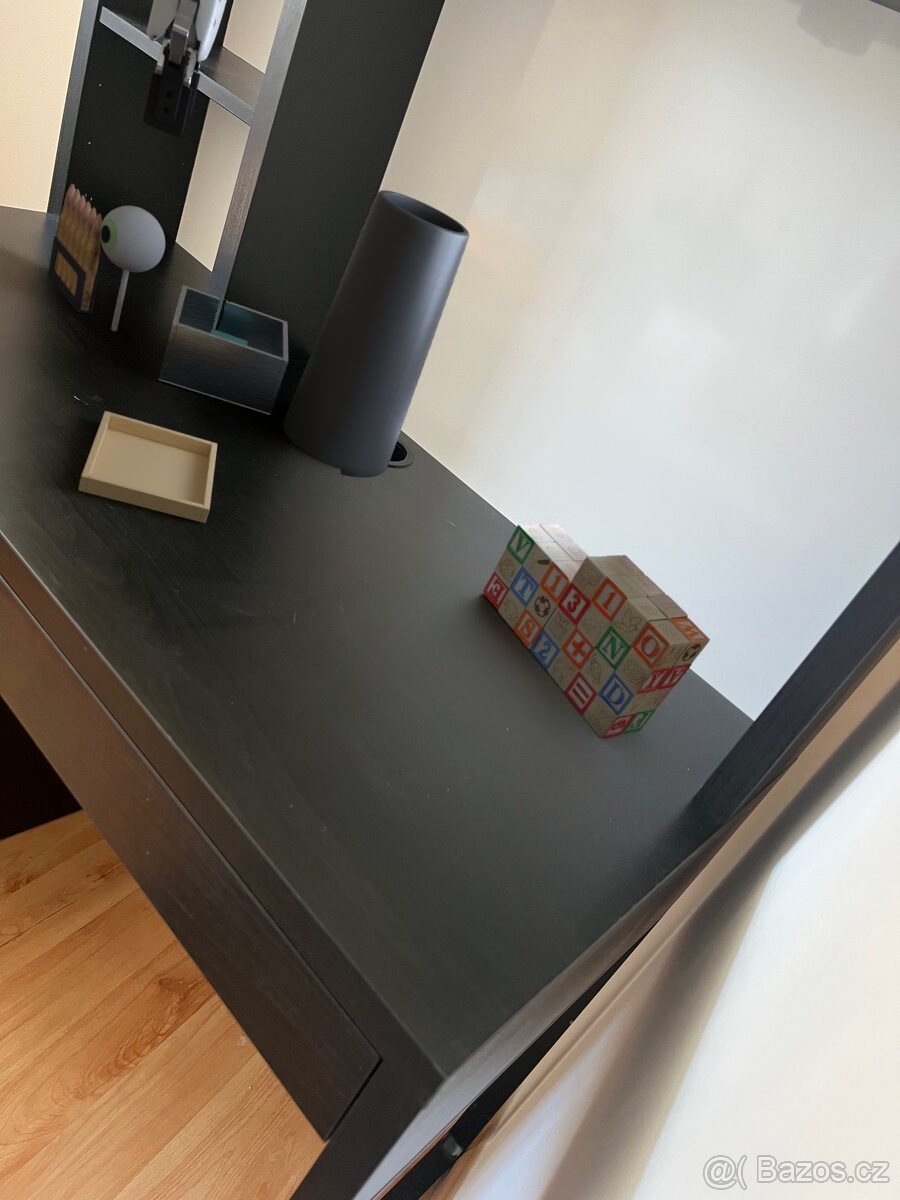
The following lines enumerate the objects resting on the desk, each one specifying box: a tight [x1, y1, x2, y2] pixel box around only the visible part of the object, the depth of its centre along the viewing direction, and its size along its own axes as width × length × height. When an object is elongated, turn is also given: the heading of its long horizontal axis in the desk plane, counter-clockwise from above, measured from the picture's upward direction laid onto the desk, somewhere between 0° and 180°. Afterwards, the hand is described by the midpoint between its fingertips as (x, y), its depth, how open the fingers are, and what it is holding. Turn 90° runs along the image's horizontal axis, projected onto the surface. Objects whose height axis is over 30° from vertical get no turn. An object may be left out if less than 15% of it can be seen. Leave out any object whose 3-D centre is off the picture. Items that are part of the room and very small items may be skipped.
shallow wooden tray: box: [78, 410, 218, 524], centre depth 82 cm, size 11×13×2 cm
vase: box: [282, 189, 470, 477], centre depth 97 cm, size 14×14×29 cm
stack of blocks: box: [482, 523, 711, 740], centre depth 84 cm, size 21×6×12 cm, turn 34°
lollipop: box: [100, 205, 166, 332], centre depth 101 cm, size 7×7×15 cm
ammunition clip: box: [47, 183, 103, 315], centre depth 104 cm, size 11×2×12 cm, turn 39°
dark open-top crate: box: [157, 284, 289, 418], centre depth 103 cm, size 13×13×8 cm
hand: (167, 120), depth 77 cm, fingers open, 9 cm apart
